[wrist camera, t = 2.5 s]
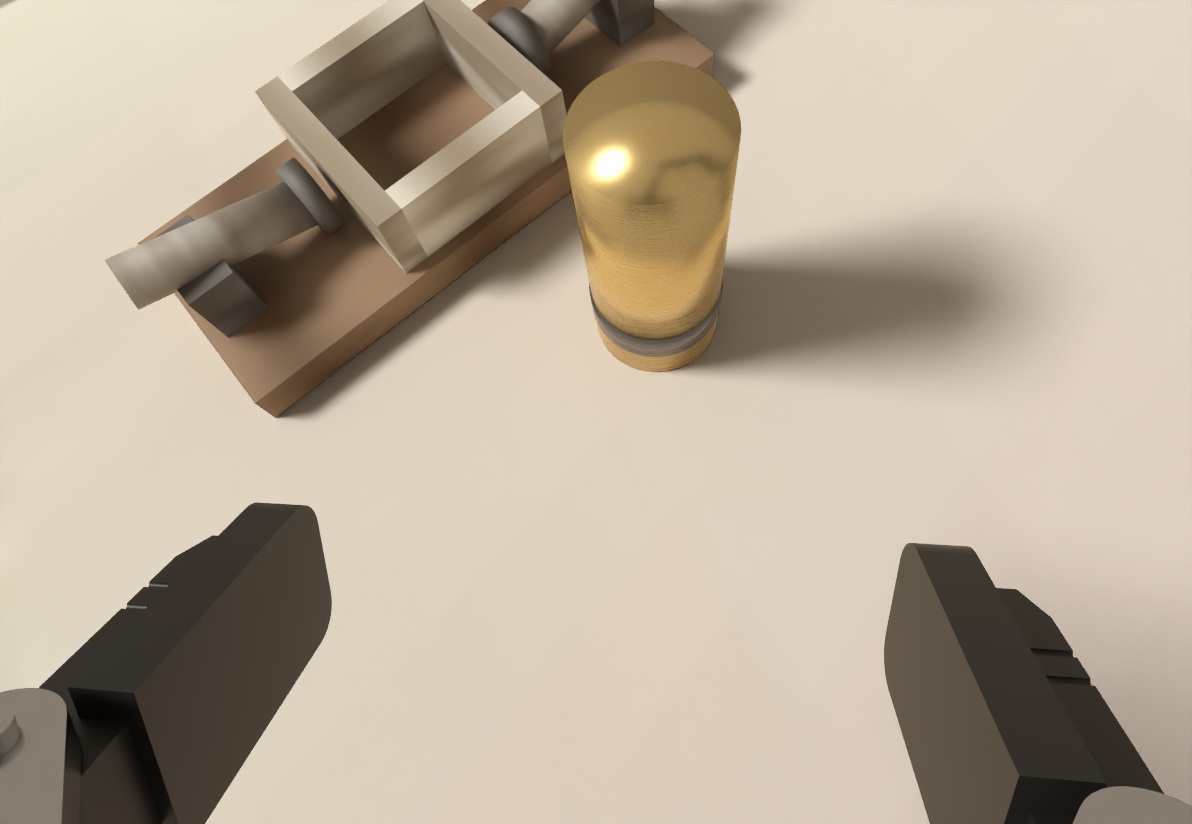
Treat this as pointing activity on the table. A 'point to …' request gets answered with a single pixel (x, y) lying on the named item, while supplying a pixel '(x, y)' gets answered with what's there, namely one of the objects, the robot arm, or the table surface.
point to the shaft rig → (388, 177)
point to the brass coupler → (654, 206)
